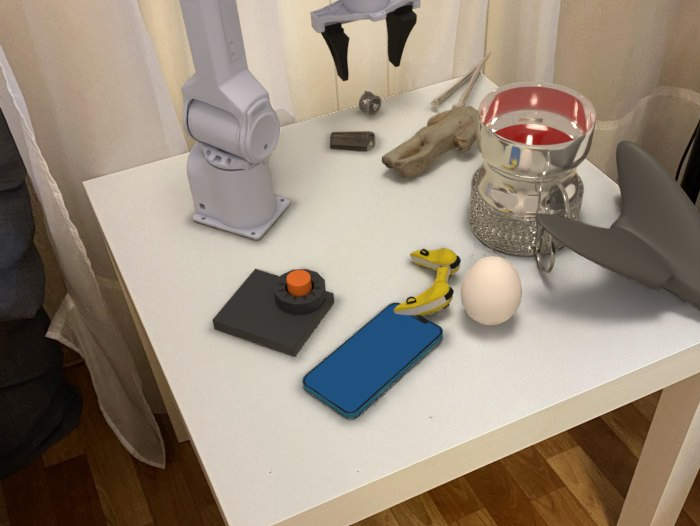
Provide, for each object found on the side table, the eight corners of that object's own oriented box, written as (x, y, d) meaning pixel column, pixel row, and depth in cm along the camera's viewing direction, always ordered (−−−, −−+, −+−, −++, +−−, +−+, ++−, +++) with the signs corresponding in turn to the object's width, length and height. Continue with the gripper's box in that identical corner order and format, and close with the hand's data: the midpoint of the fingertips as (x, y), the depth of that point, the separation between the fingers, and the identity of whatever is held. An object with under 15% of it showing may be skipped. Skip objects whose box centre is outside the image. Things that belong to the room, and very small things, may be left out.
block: (332, 141, 115) (331, 128, 114) (376, 138, 115) (375, 126, 114) (330, 153, 113) (328, 141, 111) (374, 151, 112) (373, 138, 111)
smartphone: (297, 380, 85) (394, 299, 92) (298, 387, 86) (394, 305, 93) (351, 417, 82) (447, 330, 89) (352, 423, 83) (447, 336, 90)
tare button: (283, 292, 91) (281, 281, 90) (295, 277, 93) (293, 267, 91) (304, 299, 90) (303, 288, 89) (316, 284, 92) (314, 273, 91)
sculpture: (413, 199, 107) (494, 143, 112) (410, 168, 103) (494, 111, 109) (375, 177, 110) (456, 124, 116) (371, 146, 107) (454, 93, 112)
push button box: (214, 329, 91) (209, 309, 89) (260, 273, 97) (256, 253, 95) (295, 356, 89) (292, 336, 86) (337, 297, 94) (335, 277, 92)
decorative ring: (367, 119, 117) (367, 99, 115) (358, 114, 118) (357, 94, 116) (382, 111, 119) (381, 91, 116) (372, 106, 119) (372, 86, 117)
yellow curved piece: (370, 306, 97) (417, 339, 90) (359, 283, 95) (406, 315, 88) (437, 256, 99) (488, 285, 92) (427, 233, 97) (479, 260, 90)
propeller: (756, 307, 100) (815, 255, 95) (697, 379, 81) (766, 318, 76) (615, 178, 104) (663, 120, 99) (527, 217, 85) (581, 148, 80)
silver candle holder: (528, 175, 108) (542, 68, 97) (630, 250, 98) (658, 141, 87) (447, 212, 103) (452, 104, 92) (545, 295, 94) (564, 185, 83)
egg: (447, 320, 91) (450, 264, 85) (482, 289, 94) (487, 233, 88) (495, 347, 89) (501, 292, 83) (529, 314, 92) (538, 259, 86)
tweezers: (428, 99, 117) (428, 112, 119) (460, 106, 116) (459, 119, 117) (476, 40, 127) (476, 52, 128) (506, 45, 125) (505, 58, 127)
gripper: (323, -8, 99) (331, 98, 109) (432, -34, 103) (430, 70, 113) (300, -31, 103) (310, 73, 113) (406, -56, 107) (406, 47, 117)
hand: (368, 70), depth 114 cm, fingers open, 7 cm apart
